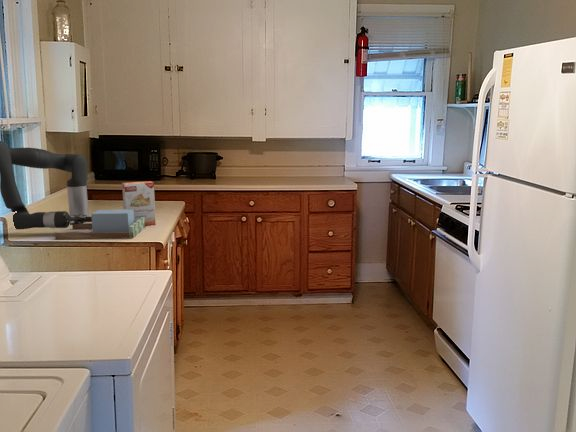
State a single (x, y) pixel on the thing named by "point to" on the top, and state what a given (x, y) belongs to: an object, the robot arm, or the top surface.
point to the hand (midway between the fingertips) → (95, 219)
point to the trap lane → (133, 231)
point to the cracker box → (140, 200)
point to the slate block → (112, 220)
